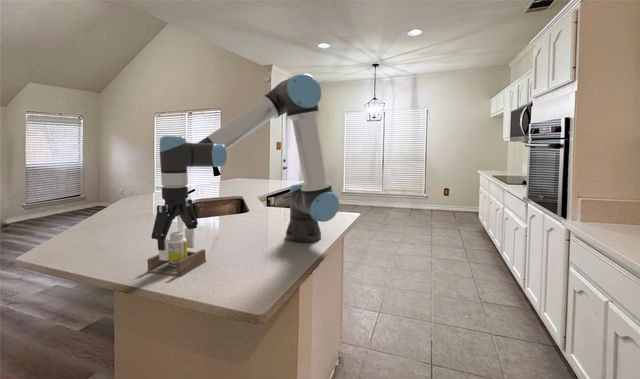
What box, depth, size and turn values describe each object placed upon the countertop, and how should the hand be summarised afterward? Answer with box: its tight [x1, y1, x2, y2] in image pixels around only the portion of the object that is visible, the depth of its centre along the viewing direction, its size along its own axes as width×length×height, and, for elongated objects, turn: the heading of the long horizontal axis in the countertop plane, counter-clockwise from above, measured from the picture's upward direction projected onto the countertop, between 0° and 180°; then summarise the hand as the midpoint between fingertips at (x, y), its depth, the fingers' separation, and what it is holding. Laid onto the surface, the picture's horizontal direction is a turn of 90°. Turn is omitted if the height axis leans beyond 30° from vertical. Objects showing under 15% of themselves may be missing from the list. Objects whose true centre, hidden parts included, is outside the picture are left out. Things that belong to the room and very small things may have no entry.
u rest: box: [146, 249, 207, 277], centre depth 105 cm, size 12×13×4 cm
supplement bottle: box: [168, 231, 188, 267], centre depth 104 cm, size 6×6×10 cm
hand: (177, 253), depth 105 cm, fingers open, 12 cm apart
